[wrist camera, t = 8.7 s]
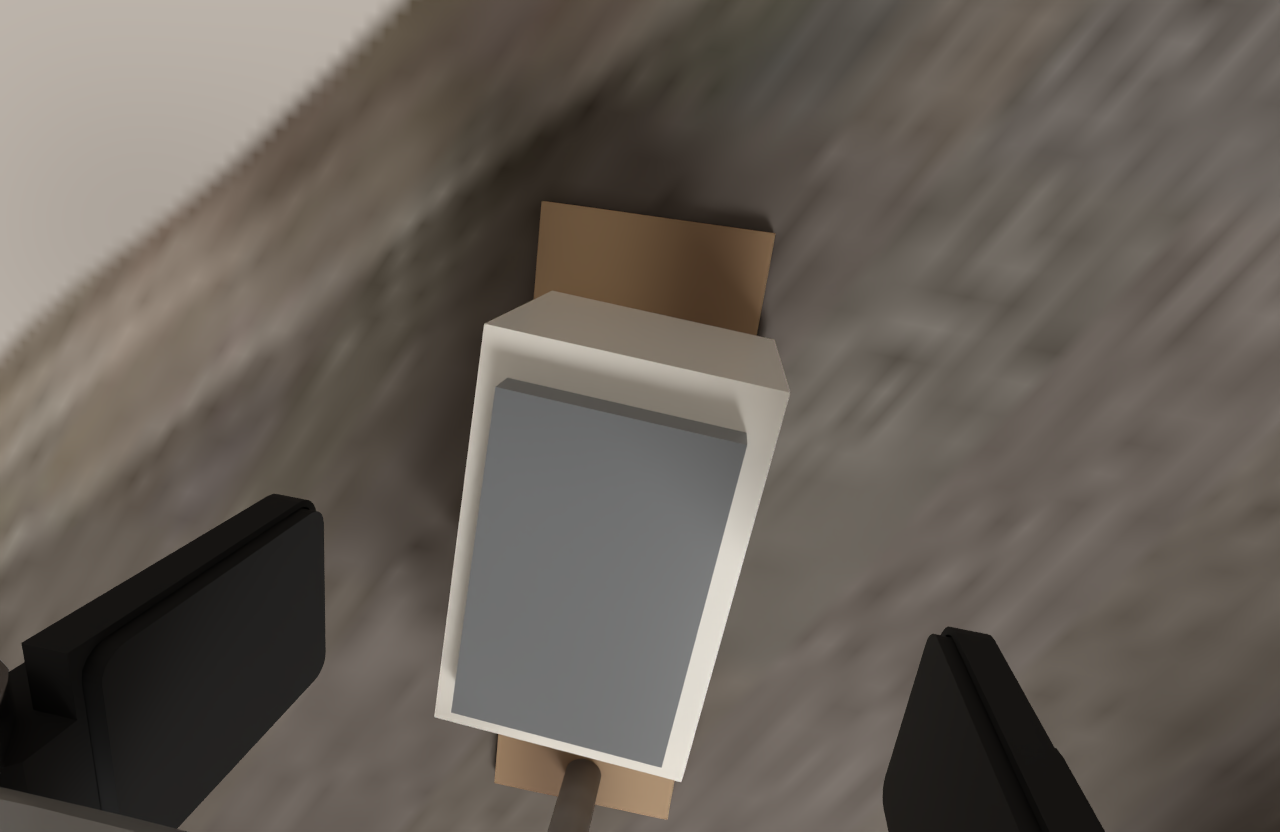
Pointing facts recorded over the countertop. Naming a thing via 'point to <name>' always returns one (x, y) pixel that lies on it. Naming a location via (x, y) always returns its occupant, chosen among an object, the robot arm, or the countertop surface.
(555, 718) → the white and grey block
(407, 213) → the countertop surface
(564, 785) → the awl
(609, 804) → the strip
